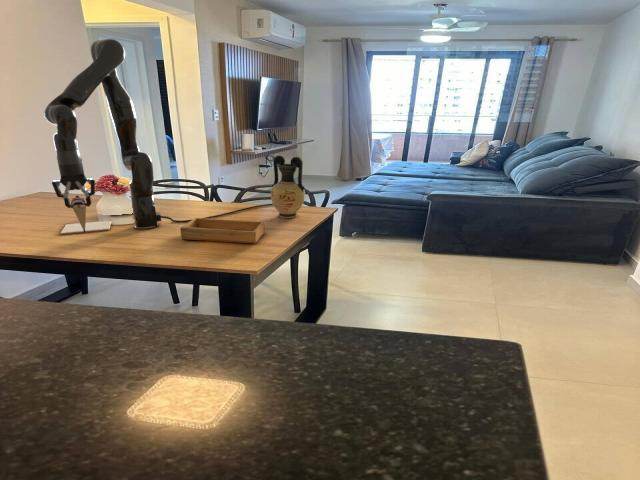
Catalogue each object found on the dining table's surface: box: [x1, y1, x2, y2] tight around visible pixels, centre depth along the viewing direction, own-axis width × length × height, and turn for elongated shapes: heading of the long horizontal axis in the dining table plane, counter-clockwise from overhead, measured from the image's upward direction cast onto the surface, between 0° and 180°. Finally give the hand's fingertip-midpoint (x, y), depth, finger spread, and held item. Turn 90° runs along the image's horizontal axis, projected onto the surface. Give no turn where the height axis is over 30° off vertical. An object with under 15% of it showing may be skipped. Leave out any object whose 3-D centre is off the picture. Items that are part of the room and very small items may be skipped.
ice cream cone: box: [70, 195, 87, 234], centre depth 146 cm, size 6×6×15 cm
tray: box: [179, 217, 265, 245], centre depth 159 cm, size 31×15×6 cm, turn 85°
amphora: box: [270, 154, 306, 219], centre depth 189 cm, size 18×17×30 cm
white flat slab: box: [59, 220, 112, 236], centre depth 169 cm, size 18×16×1 cm
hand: (79, 206), depth 145 cm, fingers closed on ice cream cone, 5 cm apart
